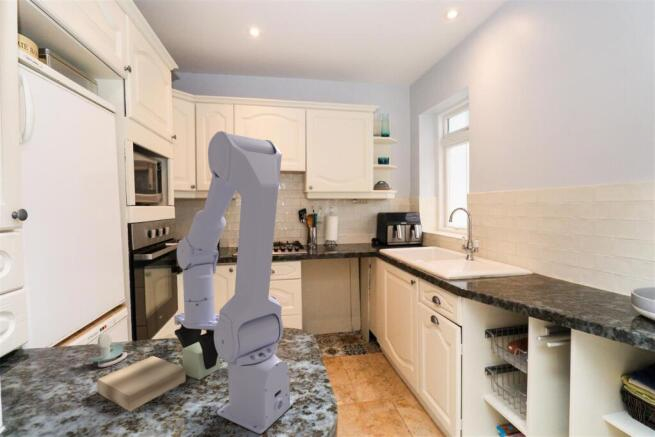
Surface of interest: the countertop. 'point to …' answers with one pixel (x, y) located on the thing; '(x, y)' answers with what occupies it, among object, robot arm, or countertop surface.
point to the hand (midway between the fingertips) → (201, 363)
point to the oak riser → (141, 382)
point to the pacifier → (108, 352)
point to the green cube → (196, 362)
